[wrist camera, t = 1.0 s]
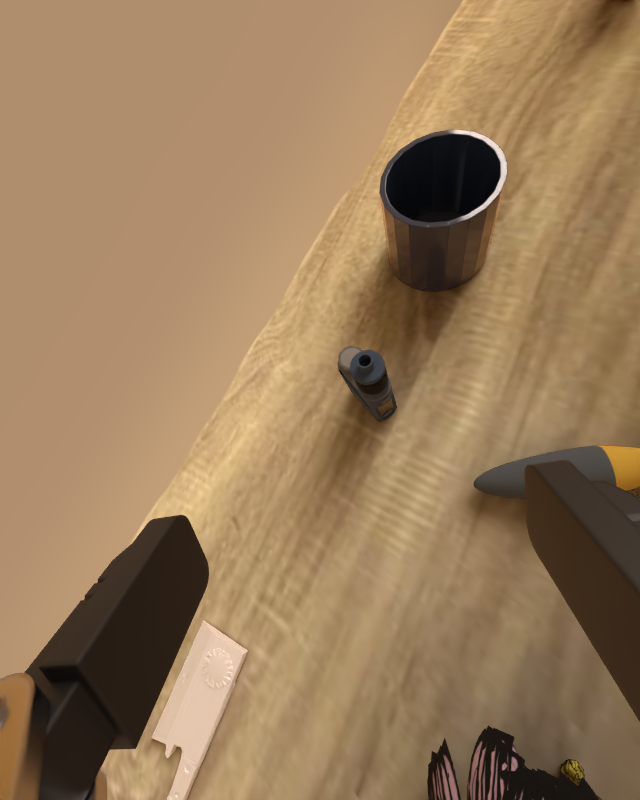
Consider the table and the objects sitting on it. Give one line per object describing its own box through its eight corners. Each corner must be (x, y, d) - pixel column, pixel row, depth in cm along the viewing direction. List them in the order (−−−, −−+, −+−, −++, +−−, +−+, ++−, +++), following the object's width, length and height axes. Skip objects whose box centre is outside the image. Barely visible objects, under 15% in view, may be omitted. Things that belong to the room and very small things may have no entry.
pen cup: (470, 198, 39) (482, 112, 30) (502, 272, 35) (526, 199, 27) (379, 230, 40) (368, 157, 32) (402, 303, 37) (396, 243, 29)
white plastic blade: (124, 798, 31) (114, 808, 30) (205, 619, 33) (198, 623, 32) (168, 844, 29) (158, 856, 28) (249, 651, 31) (243, 655, 30)
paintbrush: (485, 532, 29) (497, 535, 25) (467, 471, 31) (474, 463, 26) (779, 483, 25) (857, 476, 21) (739, 416, 27) (804, 396, 23)
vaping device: (381, 427, 34) (361, 387, 23) (347, 388, 36) (313, 333, 25) (403, 410, 34) (393, 360, 23) (367, 371, 36) (342, 309, 25)
